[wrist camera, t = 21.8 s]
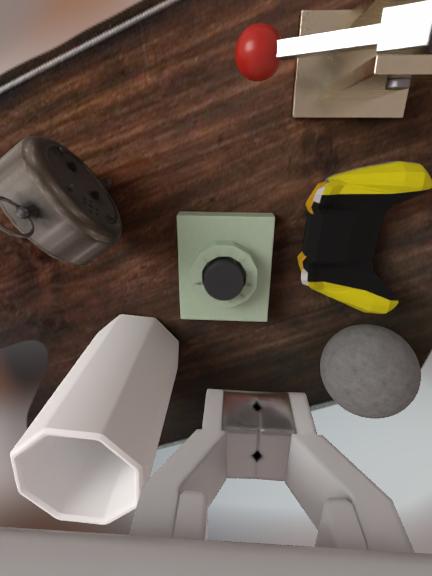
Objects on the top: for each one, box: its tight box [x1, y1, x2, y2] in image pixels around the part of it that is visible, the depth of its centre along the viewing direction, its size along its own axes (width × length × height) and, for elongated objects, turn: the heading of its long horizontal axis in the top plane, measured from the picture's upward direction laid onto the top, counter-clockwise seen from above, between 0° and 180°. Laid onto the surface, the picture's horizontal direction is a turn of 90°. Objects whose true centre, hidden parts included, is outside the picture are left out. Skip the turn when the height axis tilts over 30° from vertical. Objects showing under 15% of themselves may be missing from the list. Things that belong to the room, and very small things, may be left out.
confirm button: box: [204, 258, 244, 301], centre depth 34 cm, size 4×4×2 cm
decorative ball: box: [320, 324, 421, 418], centre depth 37 cm, size 10×10×10 cm
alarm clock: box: [0, 136, 122, 265], centre depth 28 cm, size 11×5×16 cm, turn 34°
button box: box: [177, 211, 275, 322], centre depth 37 cm, size 12×10×4 cm
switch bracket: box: [291, 0, 432, 119], centre depth 25 cm, size 10×8×13 cm
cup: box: [10, 314, 179, 525], centre depth 35 cm, size 11×11×18 cm
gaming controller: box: [297, 161, 432, 314], centre depth 34 cm, size 15×6×10 cm
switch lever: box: [235, 0, 432, 81], centre depth 23 cm, size 13×4×4 cm
